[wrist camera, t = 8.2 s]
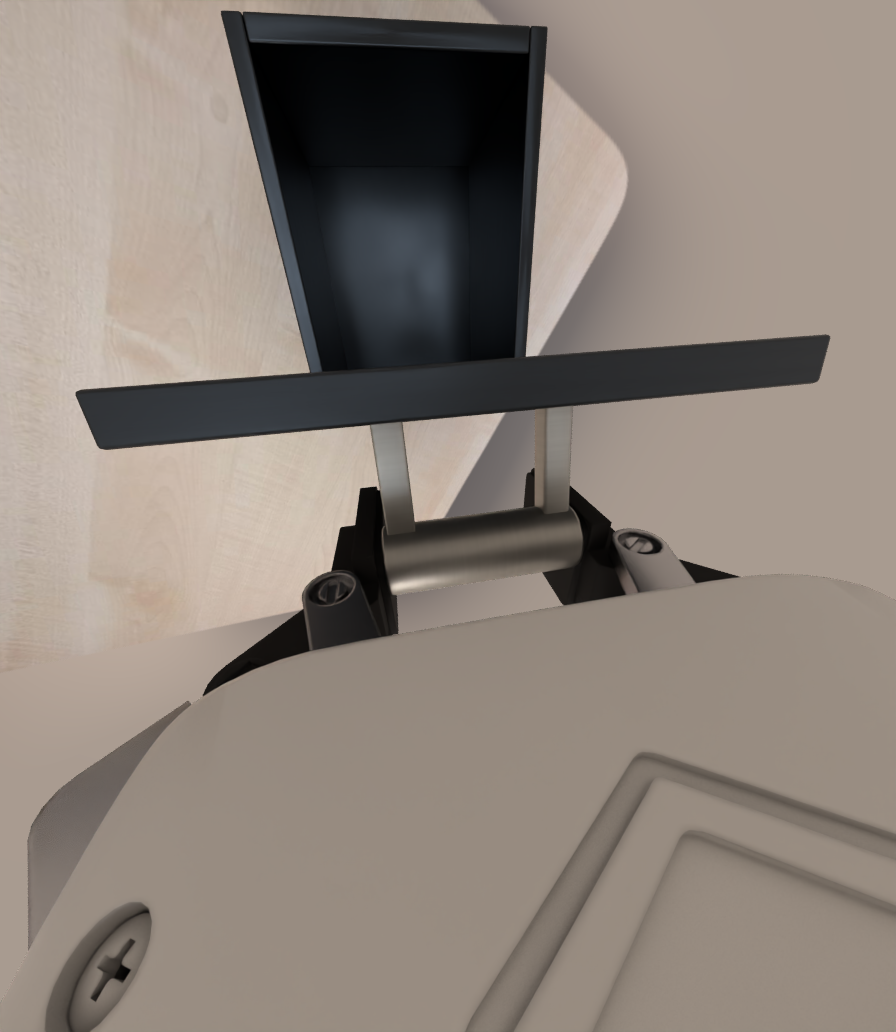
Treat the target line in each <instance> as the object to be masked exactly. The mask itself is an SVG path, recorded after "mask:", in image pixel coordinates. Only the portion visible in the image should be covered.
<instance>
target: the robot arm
mask: <svg viewBox="0 0 896 1032" xmlns="http://www.w3.org/2000/svg"><path fill="white" fill-rule="evenodd" d="M533 506H535V468H533V469H532V470H531V472H530V473H527V476H526V486H525V498H524V508H526V507H533ZM569 506H570V507H571V508H572V509H573V510H574V512H575V513H576V515H577V517H578V519H579V521H580V524H581V527H582V532H583V538H584V550H583V556H582V559H581V561H580V562H579V564H578V565H576V566H575V567H572V568H566V569H560V570H553V571H547V572H542V573H543V574H544V576H545V577H546V579H547V581H548V582H549V584H550V585H551V587H552V589H553V590H554V592H555V593H556V595H557V597H558V598H559V600H560V601H561V603H562V604H563V605H564V606H558V607H553V608H546V609H540V610H534V611H529V612H523V613H517V614H511V615H506V616H500V617H494V618H488V619H482V620H477V621H471V622H465V623H459V624H454V625H448V626H442V627H437V628H431V629H425V630H420V631H414V632H409V633H402V634H398V613H397V595H391V594H390V592H389V590H388V587H387V582H386V577H385V571H384V563H383V555H382V542H381V532H382V528H383V527H384V526H386V524H385V518H384V512H383V505H382V499H381V493H380V490H377V487H368V488H361V489H360V495H359V502H358V509H357V517H356V524H355V525H354V526H346V527H341V528H340V532H339V537H338V542H337V546H336V551H335V556H334V561H333V566H332V570H331V572H327V573H324V574H322V575H320V576H318V577H316V578H315V579H313V580H312V581H311V582H310V583H309V584H308V585H307V586H306V587H305V589H304V591H303V594H302V602H303V610H301V611H300V612H299V613H297V614H296V615H294V616H293V617H292V618H290V619H289V620H288V621H287V622H285V623H283V624H282V625H281V626H279V627H278V628H277V629H275V630H274V631H273V632H272V633H270V634H268V635H267V636H266V637H265V638H263V639H262V640H260V641H259V642H258V643H256V644H255V645H254V646H252V647H251V648H249V649H248V650H247V651H245V652H244V653H243V654H241V655H240V656H238V657H237V658H236V659H234V660H233V661H232V662H230V663H229V664H228V665H226V666H225V667H224V668H223V669H221V670H220V671H219V672H218V673H217V674H216V675H215V676H214V677H213V679H212V680H211V681H210V682H209V684H208V685H207V687H206V689H205V692H204V694H203V697H202V698H200V699H199V700H197V701H196V702H194V703H193V704H192V705H191V703H190V702H189V701H187V702H185V703H184V704H183V705H181V706H180V707H178V708H177V709H175V710H174V711H172V712H171V713H169V714H168V715H166V716H165V717H164V718H162V719H160V720H159V721H157V722H156V723H154V724H153V725H151V726H150V727H148V728H147V729H145V730H144V731H142V732H141V733H139V734H138V735H137V736H135V737H134V738H132V739H131V740H129V741H128V742H126V743H125V744H123V745H122V746H120V747H119V748H117V749H116V750H114V751H113V752H111V753H110V754H108V755H107V756H105V757H104V758H102V759H101V760H100V761H98V762H96V763H95V764H94V765H92V766H90V767H89V768H87V769H86V770H84V771H83V772H82V773H80V774H78V775H77V776H76V777H74V778H73V779H72V780H71V781H69V782H68V783H67V784H66V785H64V786H63V787H62V788H61V789H59V790H58V791H57V792H56V793H55V794H54V796H53V797H52V798H51V799H50V800H49V801H48V802H47V803H46V804H45V806H43V808H42V809H41V811H40V813H39V814H38V816H37V817H36V819H35V820H34V822H33V824H32V826H31V830H30V833H29V837H28V953H27V954H26V956H25V958H24V960H23V962H22V964H21V966H20V968H19V969H18V971H17V973H16V975H15V977H14V979H13V980H12V982H11V984H10V986H9V988H8V990H7V992H6V993H5V995H4V997H3V999H2V1001H1V1003H0V1032H896V600H894V599H892V598H890V597H888V596H886V595H884V594H882V593H880V592H877V591H875V590H873V589H871V588H868V587H865V586H863V585H859V584H855V583H851V582H847V581H842V580H837V579H831V578H825V577H817V576H809V575H791V574H790V575H789V574H774V575H757V576H756V575H755V576H745V577H739V576H735V575H732V574H728V573H725V572H721V571H718V570H714V569H711V568H707V567H704V566H700V565H697V564H693V563H690V562H686V561H683V560H679V559H678V558H677V557H676V555H675V554H674V553H673V551H672V550H671V549H670V547H669V546H668V545H667V543H666V542H665V541H664V540H663V539H662V538H660V537H658V536H657V535H655V534H653V533H650V532H648V531H644V530H640V529H631V528H628V529H621V530H618V531H616V532H615V531H614V530H613V529H612V528H611V527H610V526H611V522H610V521H609V520H608V519H607V518H606V517H605V516H603V515H602V514H601V513H600V512H599V511H598V510H597V509H596V508H595V507H593V506H592V505H591V504H590V503H589V502H588V501H587V500H586V499H584V498H583V497H582V496H581V495H580V494H579V493H578V492H577V491H576V490H574V489H573V488H572V487H571V486H570V488H569ZM393 634H397V635H393Z"/></svg>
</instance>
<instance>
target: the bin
mask: <svg viewBox="0 0 896 1032" xmlns="http://www.w3.org/2000/svg"><path fill="white" fill-rule="evenodd" d="M221 16H222V20H223V24H224V28H225V32H226V36H227V40H228V44H229V48H230V52H231V56H232V60H233V64H234V68H235V72H236V76H237V80H238V84H239V88H240V92H241V96H242V100H243V104H244V108H245V112H246V116H247V120H248V124H249V128H250V132H251V137H252V141H253V145H254V149H255V153H256V157H257V161H258V165H259V169H260V173H261V177H262V181H263V185H264V189H265V193H266V197H267V201H268V205H269V209H270V213H271V217H272V221H273V225H274V229H275V233H276V237H277V241H278V245H279V249H280V253H281V257H282V261H283V265H284V269H285V273H286V277H287V281H288V285H289V289H290V293H291V297H292V301H293V305H294V309H295V313H296V318H297V322H298V326H299V330H300V334H301V338H302V342H303V346H304V350H305V354H306V358H307V362H308V366H309V370H310V373H314V372H327V371H341V370H354V369H368V368H381V367H395V366H408V365H422V364H435V363H449V362H463V361H476V360H490V359H503V358H517V357H526V342H527V327H528V312H529V297H530V282H531V267H532V252H533V238H534V223H535V208H536V193H537V178H538V163H539V148H540V133H541V118H542V103H543V88H544V74H545V59H546V44H547V27H542V26H531V28H530V27H529V26H518V25H498V24H478V23H459V22H439V21H419V20H399V19H379V18H360V17H340V16H320V15H300V14H281V13H261V12H243V16H242V14H241V12H239V11H221Z"/></svg>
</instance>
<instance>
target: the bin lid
mask: <svg viewBox="0 0 896 1032" xmlns="http://www.w3.org/2000/svg"><path fill="white" fill-rule="evenodd" d="M829 341H830V336H829V335H814V336H800V337H787V338H773V339H760V340H746V341H734V342H720V343H706V344H692V345H679V346H665V347H652V348H638V349H625V350H611V351H598V352H584V353H571V354H559V355H544V356H530V357H517V358H503V359H490V360H476V361H463V362H449V363H435V364H422V365H408V366H395V367H381V368H368V369H354V370H341V371H327V372H314V373H300V374H287V375H273V376H260V377H246V378H233V379H219V380H206V381H192V382H179V383H165V384H152V385H138V386H125V387H111V388H98V389H84V390H79V391H77V392H76V397H77V400H78V402H79V404H80V407H81V409H82V411H83V414H84V416H85V418H86V421H87V423H88V425H89V428H90V430H91V432H92V434H93V437H94V439H95V441H96V444H97V446H98V447H99V448H100V449H104V450H111V449H121V448H132V447H143V446H153V445H164V444H174V443H185V442H196V441H206V440H217V439H227V438H238V437H249V436H259V435H270V434H280V433H291V432H302V431H312V430H323V429H334V428H344V427H355V426H365V425H370V429H371V435H372V442H373V448H374V454H375V461H376V467H377V474H378V480H379V486H380V493H381V499H382V505H383V512H384V518H385V524H386V526H384V527H383V528H382V532H381V542H382V555H383V563H384V571H385V577H386V582H387V587H388V590H389V592H390V594H391V595H399V594H406V593H412V592H419V591H425V590H431V589H438V588H444V587H450V586H457V585H463V584H469V583H476V582H483V581H489V580H495V579H502V578H508V577H515V576H521V575H527V574H534V573H540V572H547V571H553V570H560V569H566V568H572V567H575V566H576V565H578V564H579V562H580V561H581V559H582V556H583V550H584V538H583V532H582V527H581V524H580V521H579V519H578V517H577V515H576V513H575V512H574V510H573V509H572V508H571V507H570V506H569V488H570V464H571V463H570V461H571V439H572V413H573V406H578V405H588V404H599V403H609V402H620V401H631V400H641V399H652V398H662V397H672V396H684V395H694V394H704V393H715V392H726V391H735V390H736V391H737V390H747V389H758V388H769V387H778V386H790V385H800V384H811V383H815V382H817V381H818V380H819V378H820V374H821V370H822V367H823V363H824V359H825V356H826V352H827V348H828V345H829ZM525 410H535V506H533V507H526V508H518V509H510V510H503V511H496V512H488V513H480V514H472V515H465V516H457V517H449V518H442V519H434V520H426V521H419V522H415V521H414V513H413V505H412V497H411V489H410V481H409V473H408V465H407V457H406V449H405V441H404V433H403V425H402V422H408V421H418V420H429V419H440V418H450V417H461V416H472V415H482V414H493V413H503V412H514V411H525Z"/></svg>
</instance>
